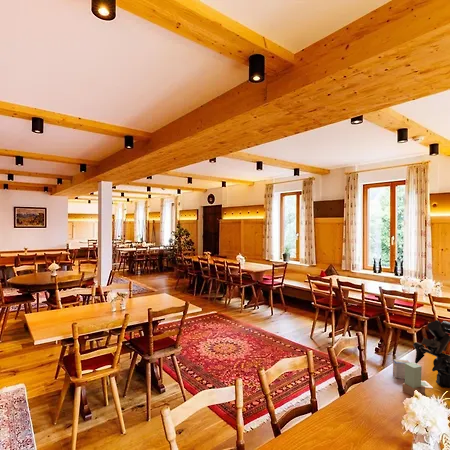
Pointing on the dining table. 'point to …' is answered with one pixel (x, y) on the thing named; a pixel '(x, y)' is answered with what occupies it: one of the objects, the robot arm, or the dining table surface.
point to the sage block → (413, 374)
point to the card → (426, 384)
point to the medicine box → (399, 368)
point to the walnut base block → (413, 389)
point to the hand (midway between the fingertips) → (424, 366)
